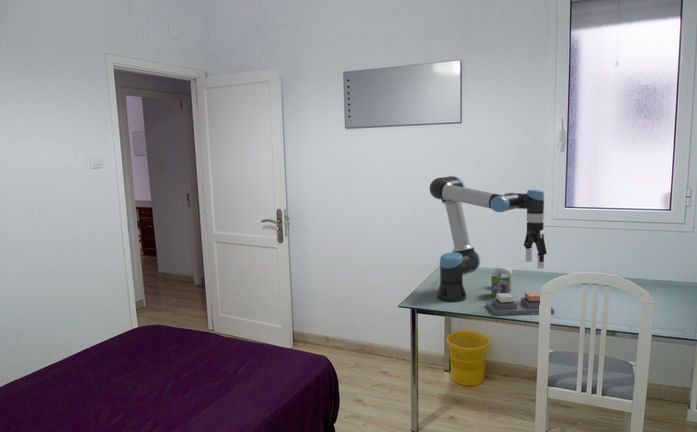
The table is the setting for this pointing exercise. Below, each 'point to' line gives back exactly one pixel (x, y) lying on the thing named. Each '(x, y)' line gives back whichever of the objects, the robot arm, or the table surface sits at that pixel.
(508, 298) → the white key
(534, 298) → the terracotta key
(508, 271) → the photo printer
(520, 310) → the key panel
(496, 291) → the chalk box
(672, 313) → the table surface
